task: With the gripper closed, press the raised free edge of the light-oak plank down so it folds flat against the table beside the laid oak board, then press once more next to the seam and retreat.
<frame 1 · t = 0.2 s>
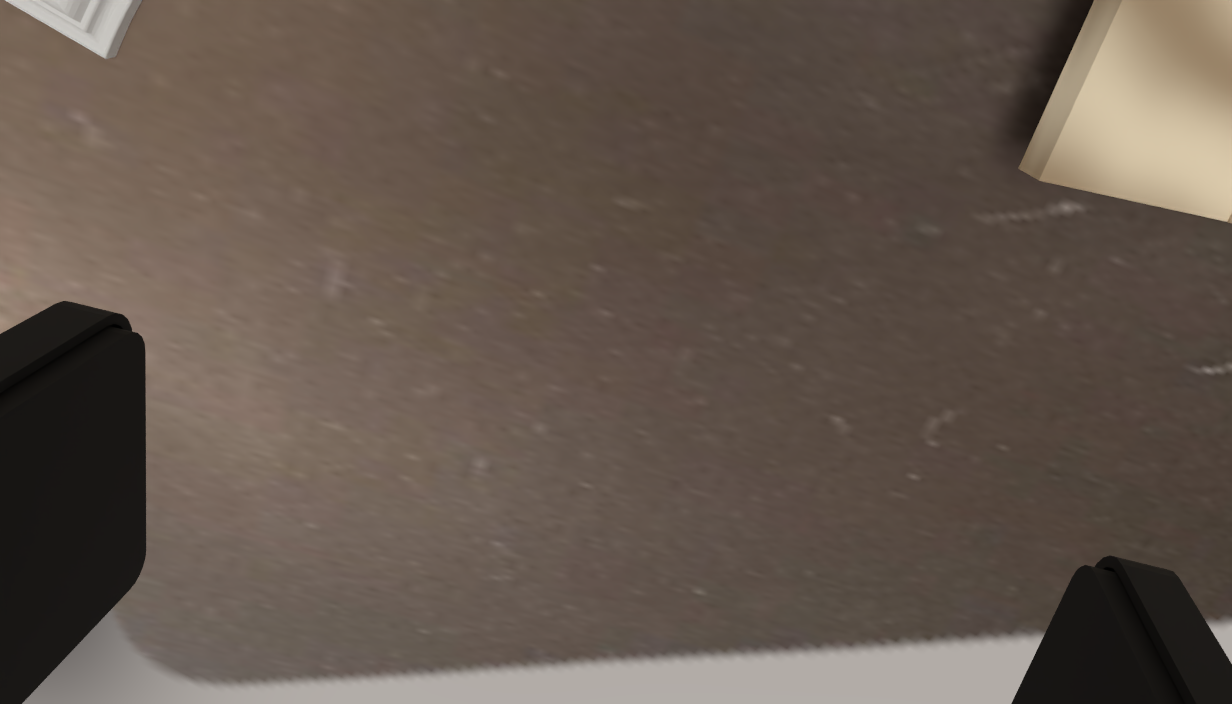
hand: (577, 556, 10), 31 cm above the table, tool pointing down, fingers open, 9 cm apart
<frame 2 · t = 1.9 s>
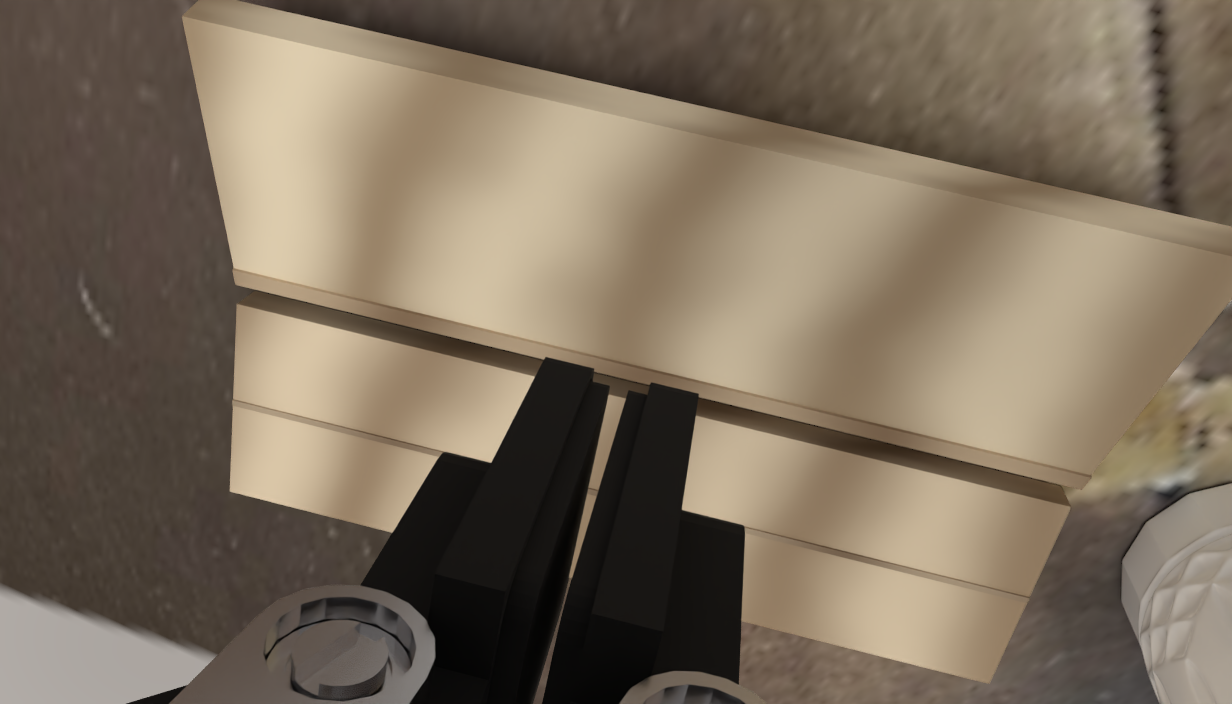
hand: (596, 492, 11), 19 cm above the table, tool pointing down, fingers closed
plank: (677, 262, 27), point 2 cm above the table, hinge at 22.0°
white cup: (1231, 568, 32), on the table
laid board: (627, 479, 33), on the table
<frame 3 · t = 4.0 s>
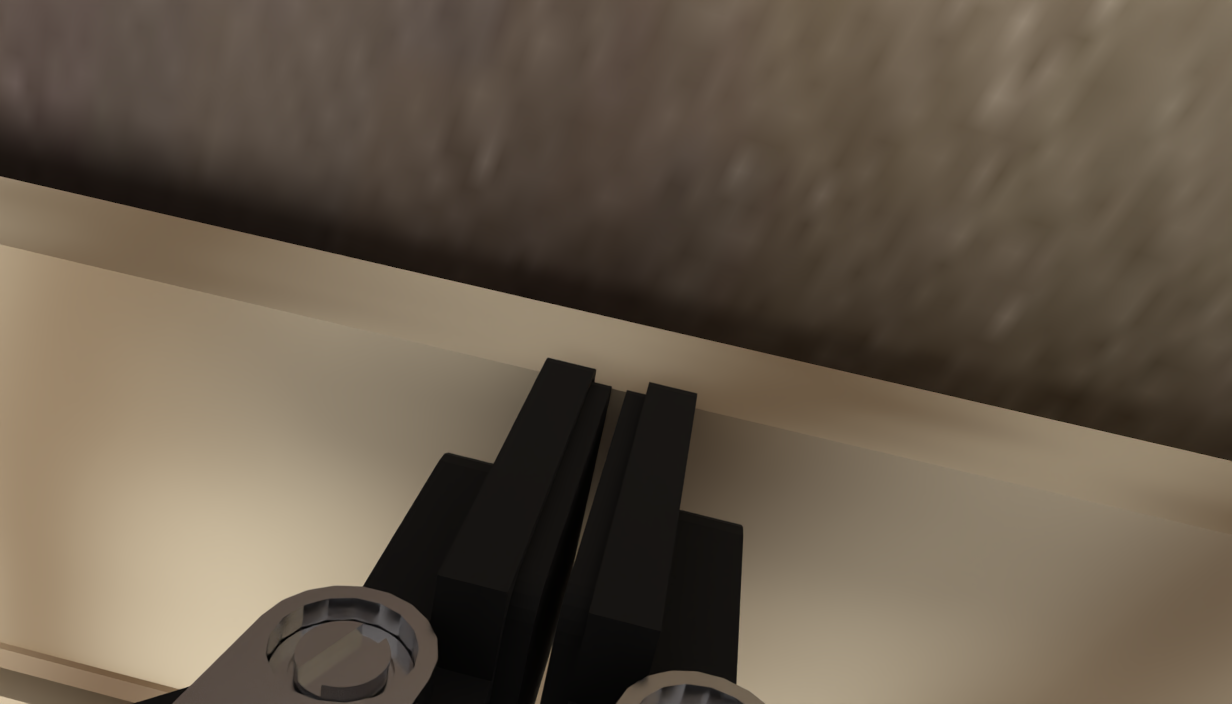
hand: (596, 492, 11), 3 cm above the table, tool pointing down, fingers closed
plank: (610, 617, 14), point 2 cm above the table, hinge at 13.8°, touching gripper
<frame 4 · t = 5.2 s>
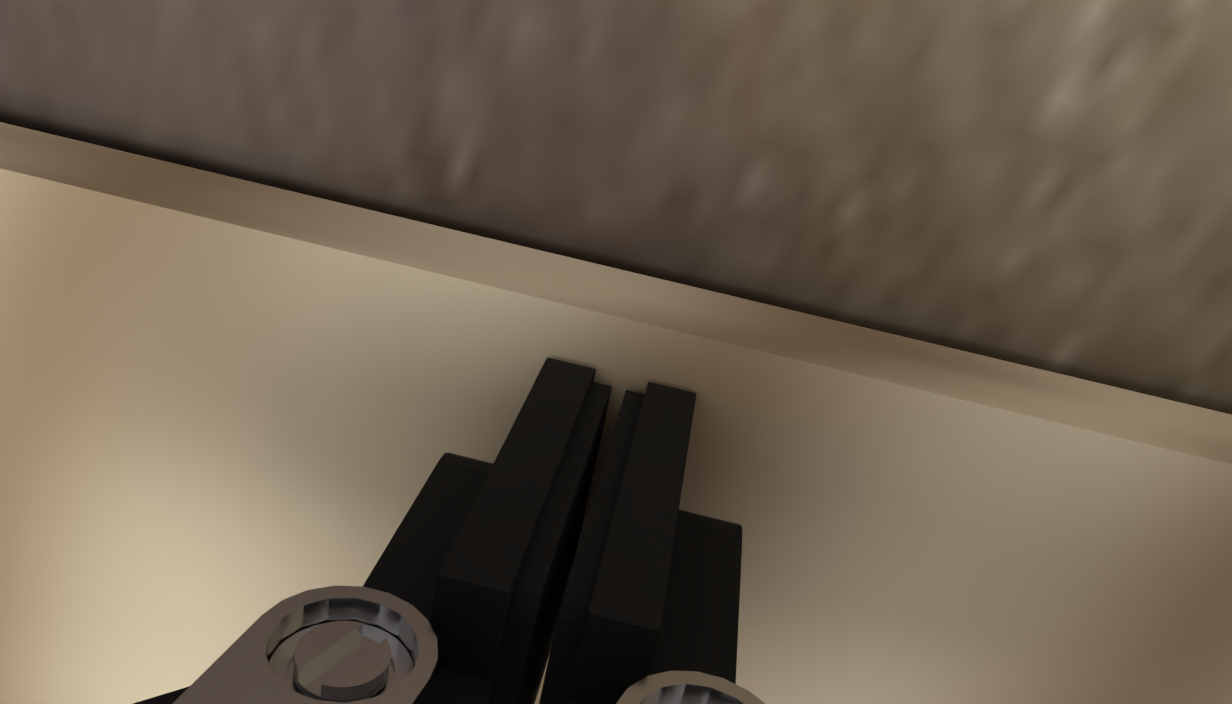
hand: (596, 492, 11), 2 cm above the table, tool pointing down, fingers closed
plank: (615, 631, 13), point 1 cm above the table, hinge at 2.4°, touching gripper
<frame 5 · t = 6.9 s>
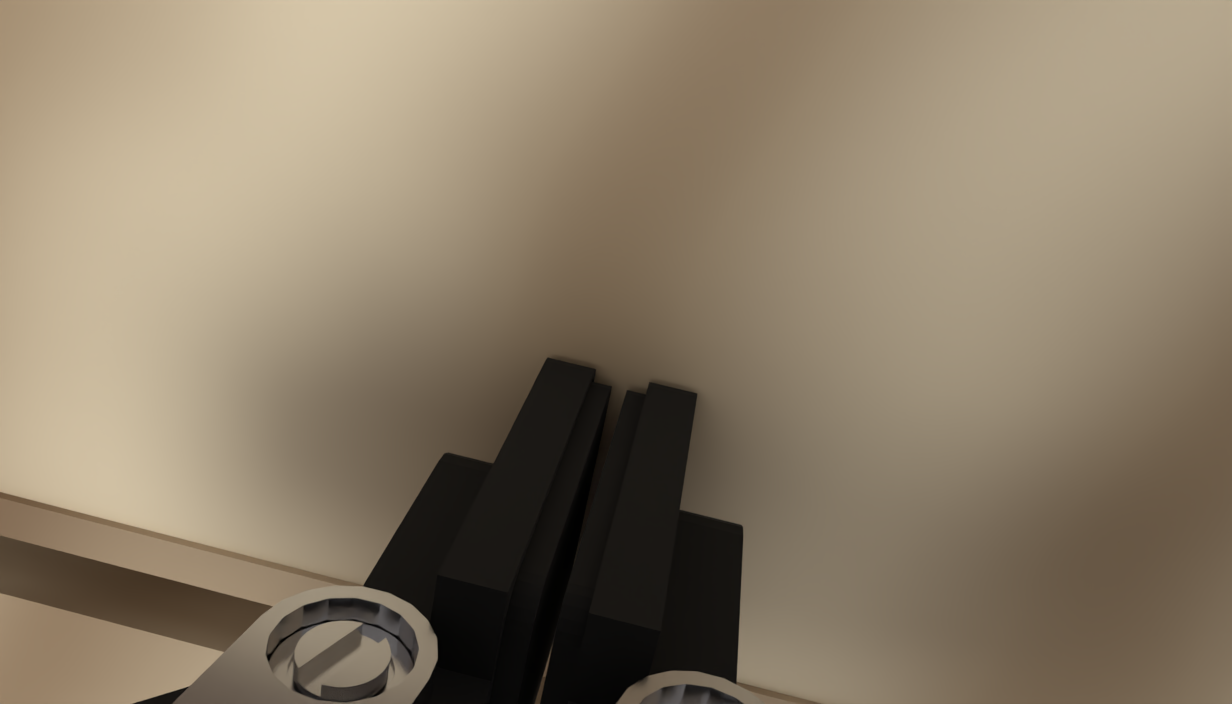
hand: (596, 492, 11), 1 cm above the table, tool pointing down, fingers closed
plank: (648, 344, 11), point 1 cm above the table, hinge at 2.1°, touching gripper
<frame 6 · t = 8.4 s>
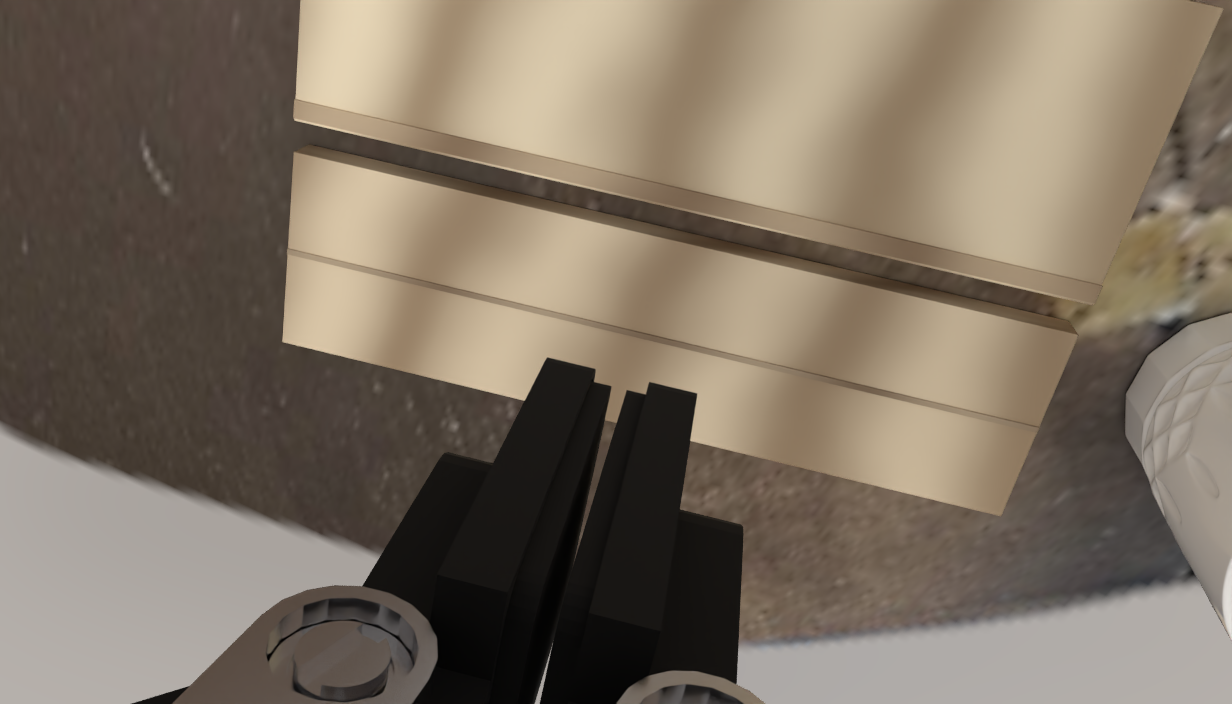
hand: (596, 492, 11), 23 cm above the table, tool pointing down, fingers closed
plank: (720, 66, 31), point 1 cm above the table, hinge at 1.3°
white cup: (1228, 400, 34), on the table
laid board: (659, 325, 35), on the table
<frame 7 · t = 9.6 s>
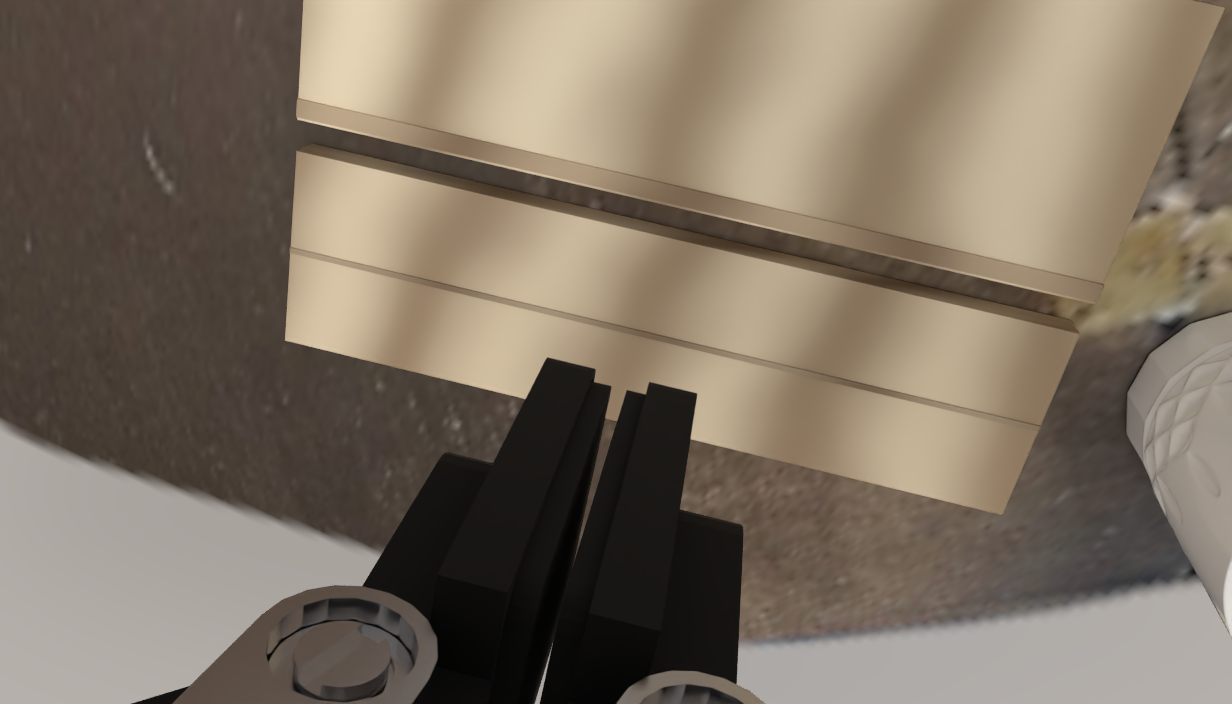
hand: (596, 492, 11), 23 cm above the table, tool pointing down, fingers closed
plank: (722, 65, 31), point 1 cm above the table, hinge at 1.3°
white cup: (1229, 399, 34), on the table
laid board: (661, 324, 35), on the table
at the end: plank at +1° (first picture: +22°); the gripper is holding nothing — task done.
